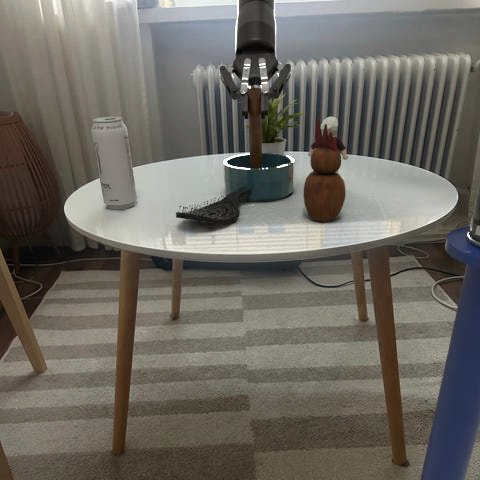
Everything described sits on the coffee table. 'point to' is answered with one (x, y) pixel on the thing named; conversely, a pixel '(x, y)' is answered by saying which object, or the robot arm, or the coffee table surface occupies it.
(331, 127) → the grandmother figurine
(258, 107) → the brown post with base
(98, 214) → the coffee table surface
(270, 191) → the bowl
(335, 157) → the wooden figurine
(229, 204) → the hairbrush
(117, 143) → the energy drink can
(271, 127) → the house plant
